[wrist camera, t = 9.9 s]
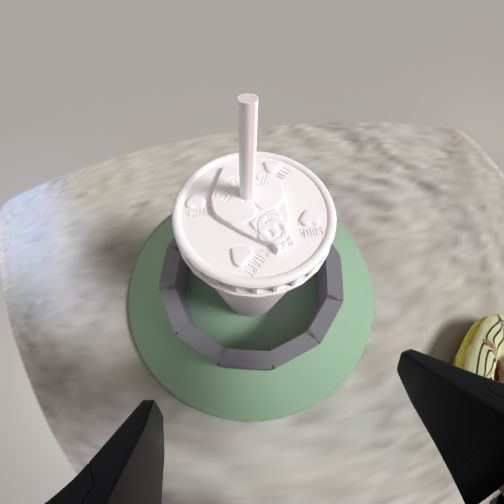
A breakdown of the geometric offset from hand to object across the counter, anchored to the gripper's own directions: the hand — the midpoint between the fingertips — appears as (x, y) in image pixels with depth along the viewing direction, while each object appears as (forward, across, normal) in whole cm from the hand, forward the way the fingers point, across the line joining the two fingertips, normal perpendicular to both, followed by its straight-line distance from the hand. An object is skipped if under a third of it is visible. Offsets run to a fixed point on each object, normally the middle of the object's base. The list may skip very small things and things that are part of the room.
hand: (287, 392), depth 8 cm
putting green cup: (+11, 0, +1) cm, 11 cm away
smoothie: (+11, 0, +1) cm, 11 cm away
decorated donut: (+3, -19, +11) cm, 22 cm away
